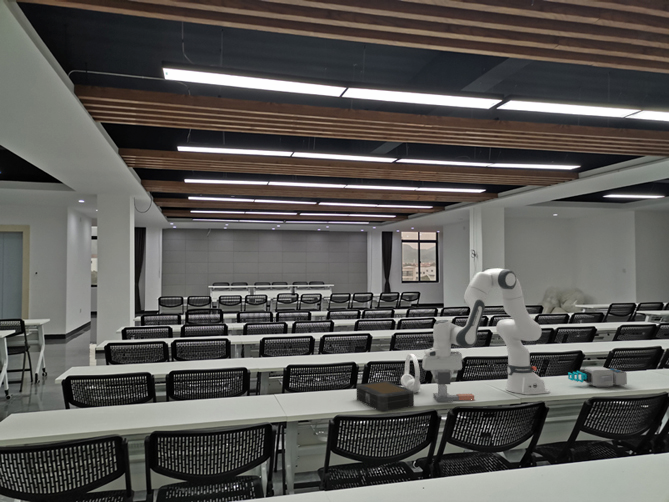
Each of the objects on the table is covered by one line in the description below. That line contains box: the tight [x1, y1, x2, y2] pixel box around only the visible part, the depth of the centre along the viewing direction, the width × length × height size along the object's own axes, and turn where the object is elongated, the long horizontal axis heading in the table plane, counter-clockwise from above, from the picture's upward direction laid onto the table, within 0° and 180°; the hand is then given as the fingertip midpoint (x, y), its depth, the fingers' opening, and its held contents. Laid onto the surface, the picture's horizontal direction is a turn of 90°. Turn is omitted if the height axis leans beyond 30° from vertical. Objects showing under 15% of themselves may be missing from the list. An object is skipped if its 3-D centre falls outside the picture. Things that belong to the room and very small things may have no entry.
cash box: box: [356, 380, 415, 412], centre depth 233 cm, size 25×20×8 cm
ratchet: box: [432, 384, 475, 403], centre depth 238 cm, size 20×8×8 cm, turn 94°
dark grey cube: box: [434, 370, 451, 386], centre depth 238 cm, size 6×6×6 cm
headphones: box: [400, 353, 421, 394], centre depth 258 cm, size 20×8×20 cm, turn 9°
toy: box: [567, 366, 628, 388], centre depth 265 cm, size 16×10×30 cm
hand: (442, 378), depth 238 cm, fingers closed on dark grey cube, 6 cm apart
